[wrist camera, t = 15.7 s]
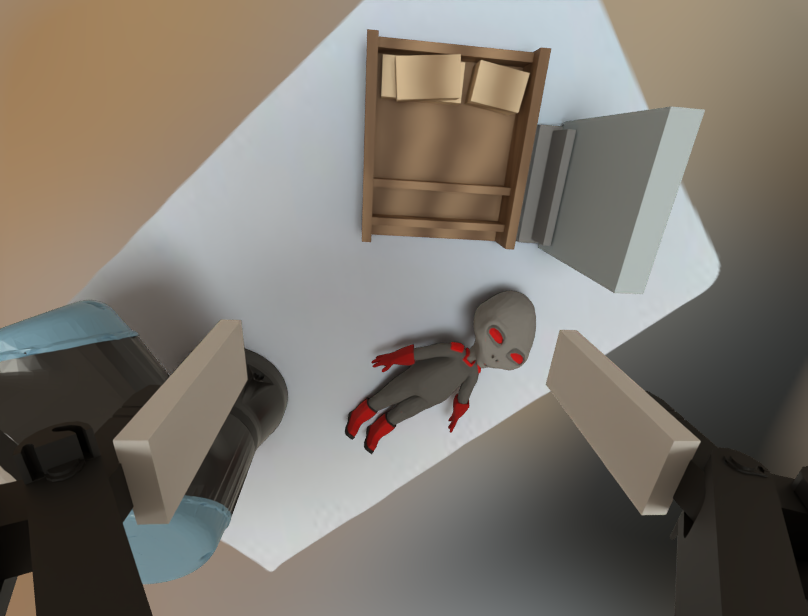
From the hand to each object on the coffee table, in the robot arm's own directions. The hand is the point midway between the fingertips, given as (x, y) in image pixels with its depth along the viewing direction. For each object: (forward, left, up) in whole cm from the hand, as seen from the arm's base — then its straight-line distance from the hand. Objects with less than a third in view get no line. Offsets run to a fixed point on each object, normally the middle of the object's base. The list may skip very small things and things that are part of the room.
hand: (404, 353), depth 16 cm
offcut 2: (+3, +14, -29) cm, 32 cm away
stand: (+20, +5, -32) cm, 38 cm away
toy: (+8, -20, -32) cm, 39 cm away
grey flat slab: (+20, +5, -31) cm, 37 cm away
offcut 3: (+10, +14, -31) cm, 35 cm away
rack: (+6, +8, -32) cm, 33 cm away
